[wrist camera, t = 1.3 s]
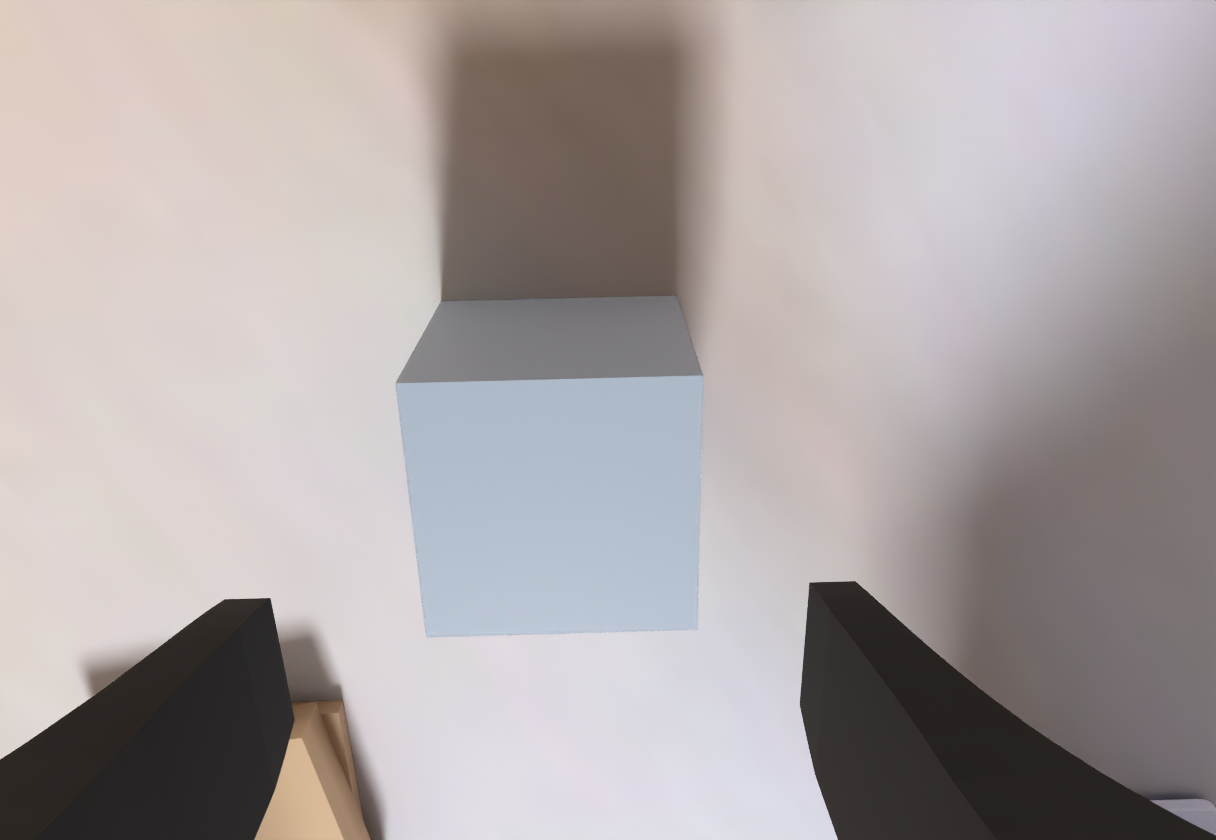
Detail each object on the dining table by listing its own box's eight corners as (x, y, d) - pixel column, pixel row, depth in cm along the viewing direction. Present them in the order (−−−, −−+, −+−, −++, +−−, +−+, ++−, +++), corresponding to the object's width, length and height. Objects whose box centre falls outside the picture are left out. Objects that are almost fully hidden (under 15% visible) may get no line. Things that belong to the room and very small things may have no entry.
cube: (675, 294, 19) (703, 375, 15) (674, 501, 21) (697, 629, 17) (441, 300, 19) (395, 383, 15) (461, 506, 21) (426, 637, 17)
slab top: (316, 702, 23) (301, 737, 22) (382, 870, 25) (373, 910, 24) (88, 738, 23) (62, 776, 22) (175, 901, 25) (156, 942, 24)
